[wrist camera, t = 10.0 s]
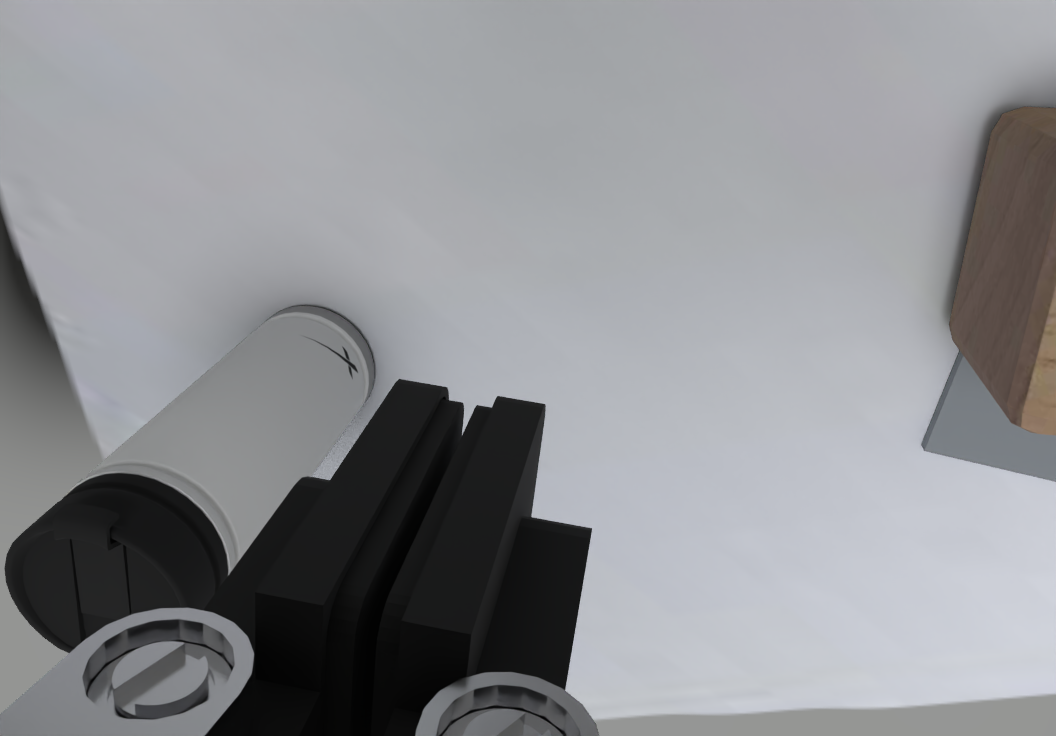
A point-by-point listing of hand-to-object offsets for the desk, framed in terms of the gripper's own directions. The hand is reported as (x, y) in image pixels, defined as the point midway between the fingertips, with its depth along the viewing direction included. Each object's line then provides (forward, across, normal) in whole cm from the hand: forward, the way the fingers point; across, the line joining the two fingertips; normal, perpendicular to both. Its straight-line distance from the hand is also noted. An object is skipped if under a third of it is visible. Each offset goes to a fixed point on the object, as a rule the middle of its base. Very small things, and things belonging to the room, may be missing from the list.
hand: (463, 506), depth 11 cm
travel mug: (+33, +13, +15) cm, 38 cm away
